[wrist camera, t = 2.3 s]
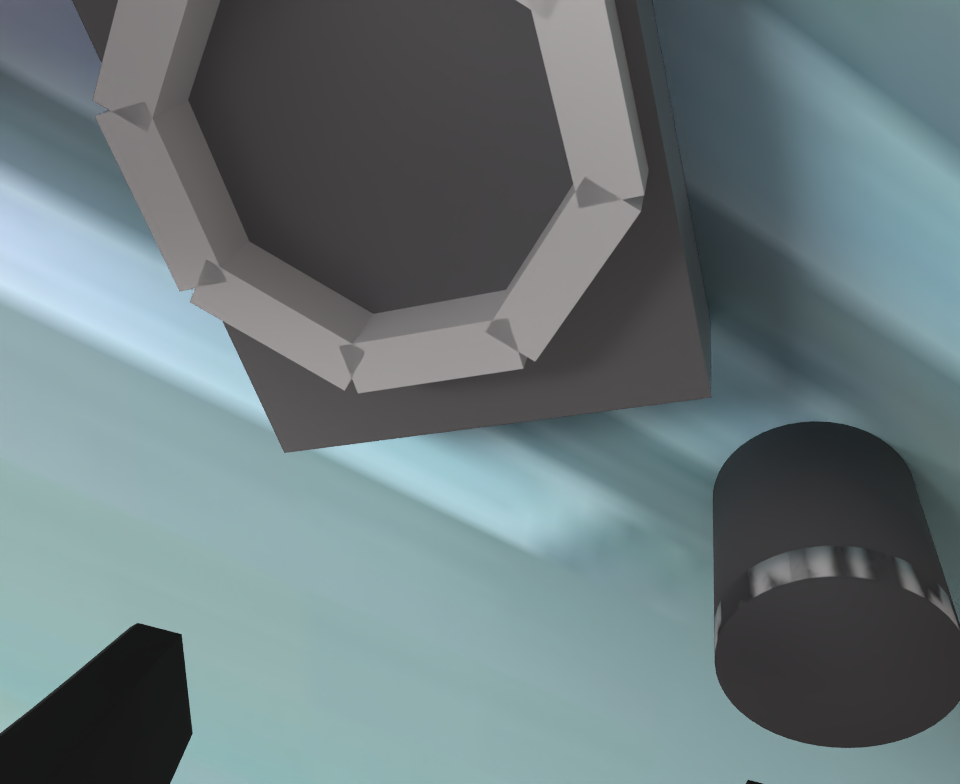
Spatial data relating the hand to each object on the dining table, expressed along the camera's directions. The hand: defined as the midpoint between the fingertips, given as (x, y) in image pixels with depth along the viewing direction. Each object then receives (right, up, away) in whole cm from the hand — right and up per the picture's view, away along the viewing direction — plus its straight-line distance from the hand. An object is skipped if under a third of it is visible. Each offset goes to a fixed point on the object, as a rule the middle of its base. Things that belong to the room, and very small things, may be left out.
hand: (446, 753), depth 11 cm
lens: (+8, +2, +9) cm, 12 cm away
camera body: (-1, +10, +6) cm, 12 cm away
